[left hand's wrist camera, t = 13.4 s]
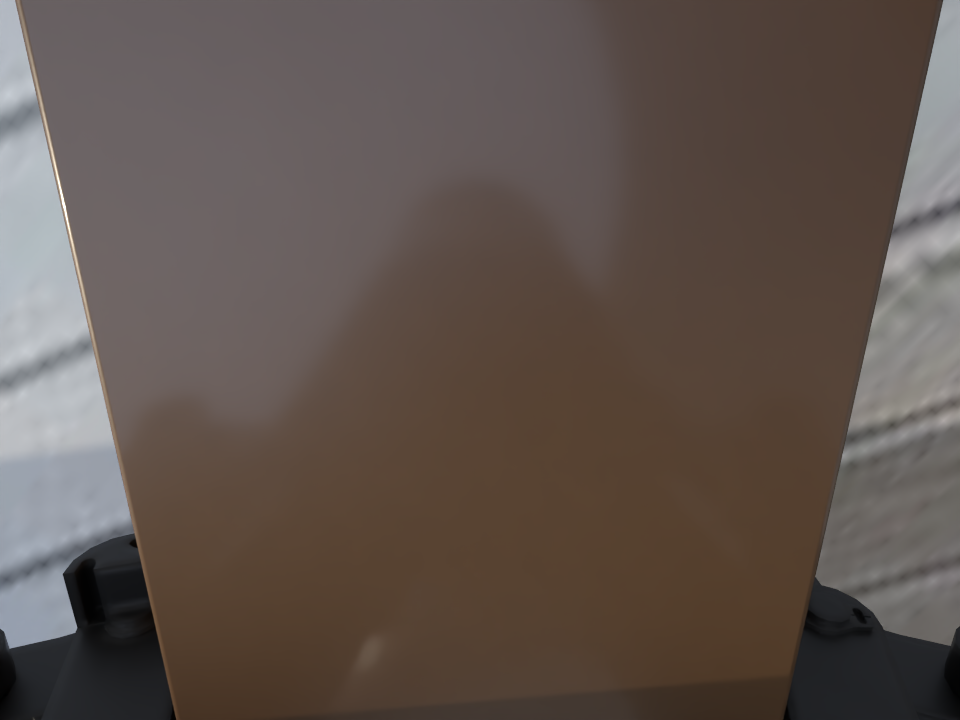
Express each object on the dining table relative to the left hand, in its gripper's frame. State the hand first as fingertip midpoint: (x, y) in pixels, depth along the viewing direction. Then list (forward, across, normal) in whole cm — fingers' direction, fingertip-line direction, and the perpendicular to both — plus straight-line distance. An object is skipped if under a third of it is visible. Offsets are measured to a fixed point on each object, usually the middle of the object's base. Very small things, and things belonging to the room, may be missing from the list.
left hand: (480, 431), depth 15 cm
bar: (+1, 0, -12) cm, 12 cm away
